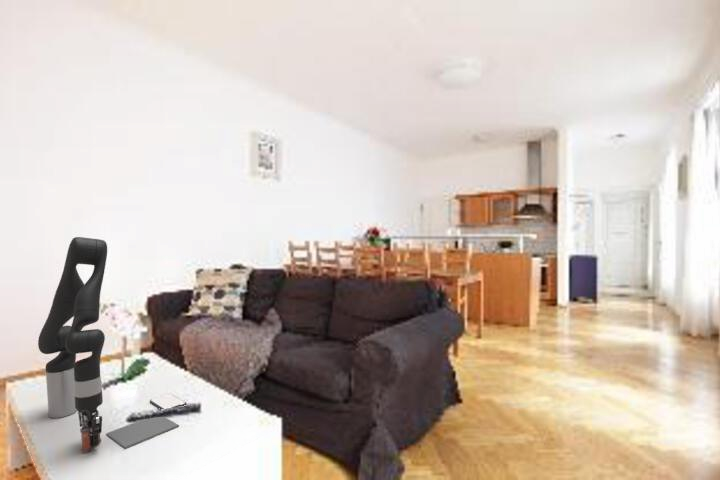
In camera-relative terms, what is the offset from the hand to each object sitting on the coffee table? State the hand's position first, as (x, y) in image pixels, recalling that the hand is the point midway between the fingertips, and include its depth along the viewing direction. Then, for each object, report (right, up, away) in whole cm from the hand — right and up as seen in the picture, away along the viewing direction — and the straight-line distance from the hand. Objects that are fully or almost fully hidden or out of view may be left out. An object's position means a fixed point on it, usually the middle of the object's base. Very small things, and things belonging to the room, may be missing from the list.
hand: (91, 442), depth 137 cm
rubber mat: (+12, -1, +10) cm, 15 cm away
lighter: (0, -2, 0) cm, 2 cm away
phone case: (+11, 0, +31) cm, 33 cm away
